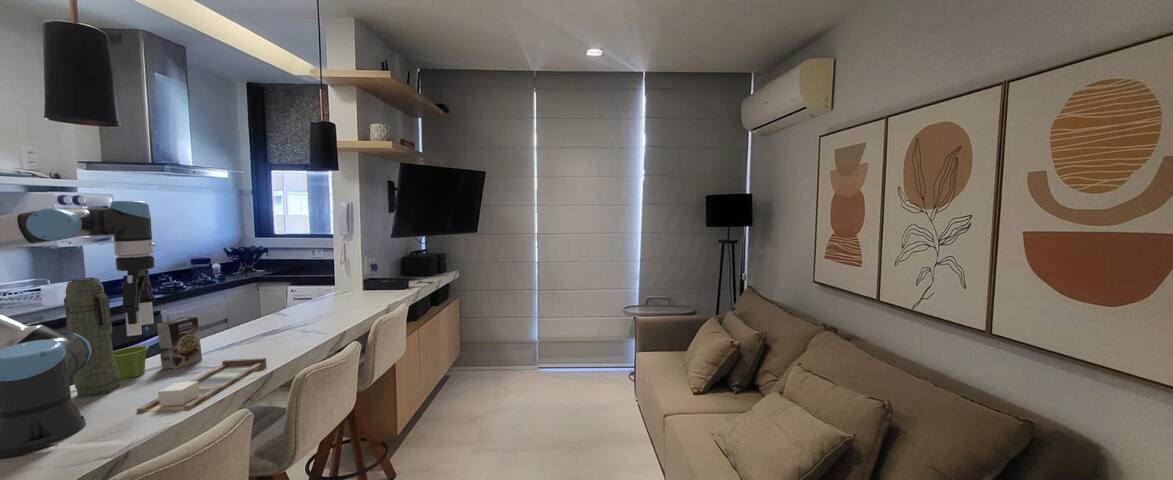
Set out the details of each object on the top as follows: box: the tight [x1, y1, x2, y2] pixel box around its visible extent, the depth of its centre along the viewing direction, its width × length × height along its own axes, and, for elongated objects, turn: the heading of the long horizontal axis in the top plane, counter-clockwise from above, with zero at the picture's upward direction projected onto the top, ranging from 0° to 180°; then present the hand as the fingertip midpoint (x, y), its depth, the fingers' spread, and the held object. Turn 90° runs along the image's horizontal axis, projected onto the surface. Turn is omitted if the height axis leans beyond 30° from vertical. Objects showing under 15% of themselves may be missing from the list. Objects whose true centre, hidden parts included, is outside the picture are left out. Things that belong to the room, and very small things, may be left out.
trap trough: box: [136, 357, 268, 414], centre depth 134 cm, size 33×13×3 cm, turn 6°
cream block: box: [157, 381, 200, 406], centre depth 123 cm, size 6×6×4 cm
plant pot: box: [113, 345, 149, 380], centre depth 146 cm, size 9×9×9 cm
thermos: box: [63, 277, 120, 398], centre depth 133 cm, size 9×12×35 cm
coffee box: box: [156, 316, 203, 370], centre depth 155 cm, size 9×6×16 cm
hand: (141, 329), depth 125 cm, fingers open, 13 cm apart
